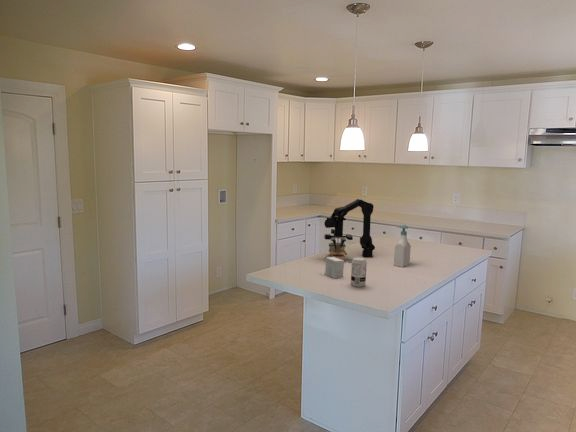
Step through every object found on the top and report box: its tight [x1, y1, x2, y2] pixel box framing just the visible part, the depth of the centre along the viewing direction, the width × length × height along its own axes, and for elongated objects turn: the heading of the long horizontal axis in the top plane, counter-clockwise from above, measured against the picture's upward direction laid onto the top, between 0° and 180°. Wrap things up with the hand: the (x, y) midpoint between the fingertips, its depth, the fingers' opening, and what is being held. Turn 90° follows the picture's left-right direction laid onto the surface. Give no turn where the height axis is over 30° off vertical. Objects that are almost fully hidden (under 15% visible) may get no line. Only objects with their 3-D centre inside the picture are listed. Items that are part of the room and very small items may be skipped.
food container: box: [328, 242, 346, 257], centre depth 303 cm, size 12×6×10 cm, turn 84°
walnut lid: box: [328, 245, 348, 256], centre depth 288 cm, size 11×11×5 cm
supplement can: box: [350, 257, 368, 288], centre depth 236 cm, size 8×8×15 cm
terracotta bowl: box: [331, 255, 345, 261], centre depth 289 cm, size 9×9×4 cm
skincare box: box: [324, 256, 345, 279], centre depth 254 cm, size 10×6×10 cm, turn 30°
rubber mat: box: [345, 258, 353, 264], centre depth 290 cm, size 12×12×1 cm
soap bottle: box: [393, 224, 412, 268], centre depth 283 cm, size 11×8×27 cm
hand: (337, 249), depth 288 cm, fingers closed on walnut lid, 3 cm apart
